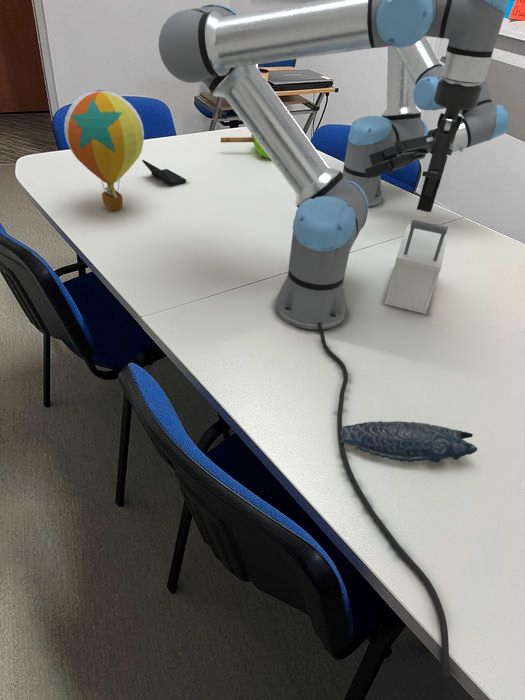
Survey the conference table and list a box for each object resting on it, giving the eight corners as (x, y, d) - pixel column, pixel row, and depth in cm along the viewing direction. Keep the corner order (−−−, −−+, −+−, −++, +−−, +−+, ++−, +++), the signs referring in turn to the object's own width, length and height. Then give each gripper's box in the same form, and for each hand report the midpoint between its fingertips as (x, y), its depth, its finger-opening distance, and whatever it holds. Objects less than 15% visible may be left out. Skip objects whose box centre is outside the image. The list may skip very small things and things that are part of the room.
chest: (425, 314, 115) (440, 270, 108) (384, 303, 117) (395, 260, 110) (432, 278, 128) (446, 236, 121) (395, 269, 130) (406, 228, 123)
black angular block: (190, 175, 164) (173, 153, 156) (179, 193, 163) (161, 172, 155) (166, 170, 170) (147, 148, 162) (155, 188, 169) (136, 167, 161)
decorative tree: (217, 117, 188) (297, 117, 193) (217, 147, 194) (295, 146, 200) (224, 132, 174) (310, 131, 180) (224, 163, 181) (307, 162, 186)
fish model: (475, 475, 80) (486, 454, 77) (339, 458, 81) (344, 436, 78) (466, 443, 85) (476, 422, 82) (339, 427, 86) (344, 405, 83)
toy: (64, 203, 145) (44, 85, 127) (127, 189, 156) (117, 79, 137) (97, 229, 134) (80, 105, 116) (162, 213, 145) (156, 96, 126)
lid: (439, 271, 107) (452, 233, 102) (395, 261, 110) (405, 223, 104) (446, 236, 121) (457, 201, 115) (406, 228, 123) (416, 192, 118)
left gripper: (445, 66, 101) (417, 174, 114) (431, 91, 82) (399, 217, 95) (485, 72, 99) (452, 181, 112) (480, 99, 80) (440, 226, 94)
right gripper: (462, 138, 125) (377, 168, 128) (439, 166, 150) (368, 191, 153) (453, 108, 125) (368, 139, 128) (432, 141, 150) (360, 166, 153)
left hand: (428, 198), depth 104 cm, fingers open, 13 cm apart
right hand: (368, 167), depth 140 cm, fingers open, 13 cm apart
